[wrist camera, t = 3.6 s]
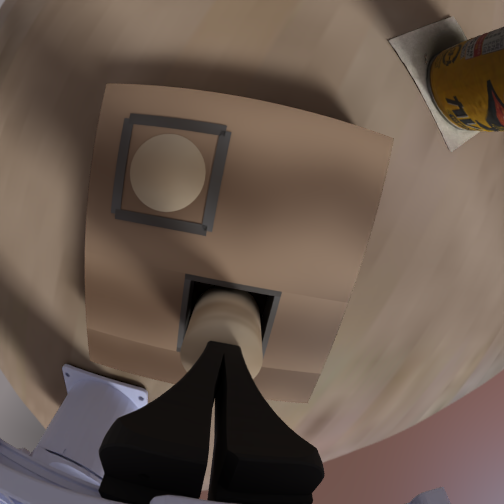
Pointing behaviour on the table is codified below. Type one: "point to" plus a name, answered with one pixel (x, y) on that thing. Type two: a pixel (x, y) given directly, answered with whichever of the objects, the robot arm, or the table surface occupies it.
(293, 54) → the table surface
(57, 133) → the table surface
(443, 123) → the condiment
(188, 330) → the peg
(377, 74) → the table surface
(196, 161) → the board
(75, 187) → the table surface
